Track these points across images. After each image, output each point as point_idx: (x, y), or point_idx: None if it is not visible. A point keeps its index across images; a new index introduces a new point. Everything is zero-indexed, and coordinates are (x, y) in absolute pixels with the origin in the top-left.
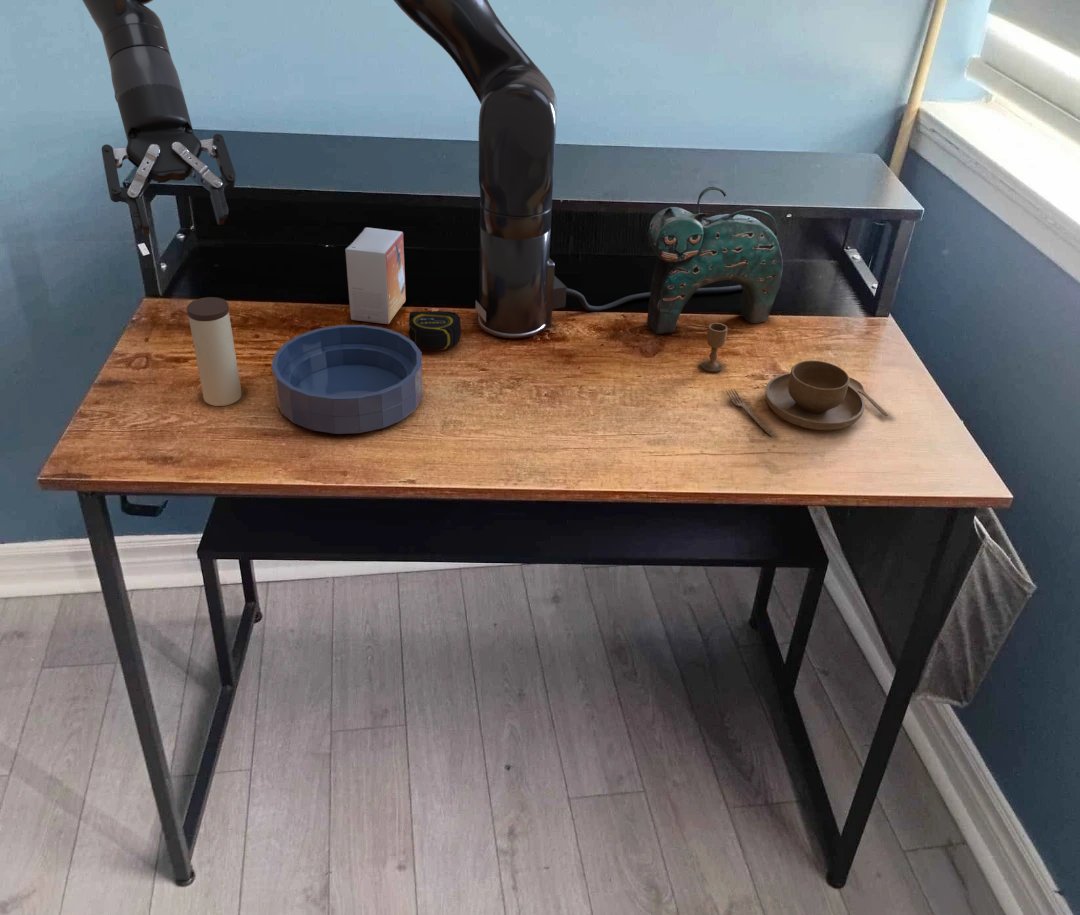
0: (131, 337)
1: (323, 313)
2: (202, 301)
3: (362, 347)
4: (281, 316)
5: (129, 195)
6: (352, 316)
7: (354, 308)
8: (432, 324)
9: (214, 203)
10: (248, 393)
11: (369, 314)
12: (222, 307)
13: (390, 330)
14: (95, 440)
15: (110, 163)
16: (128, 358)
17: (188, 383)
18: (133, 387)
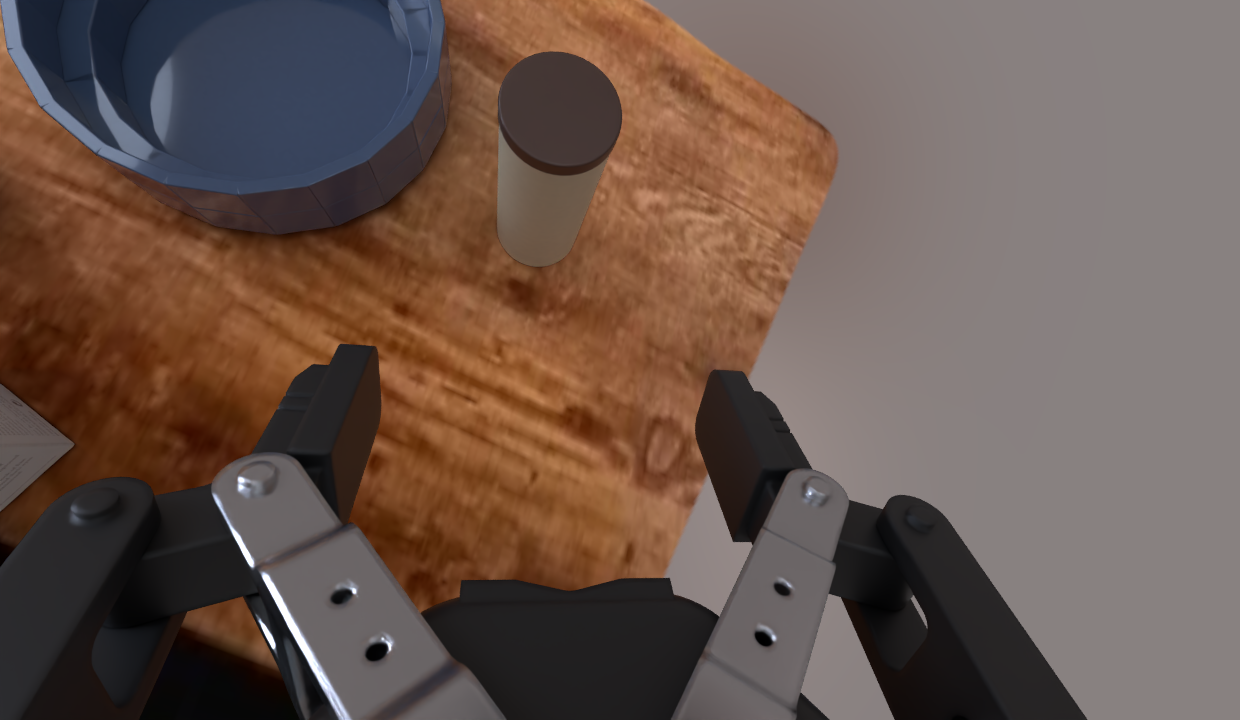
0: None
1: None
2: (567, 141)
3: (150, 151)
4: None
5: (830, 481)
6: (63, 440)
7: (34, 433)
8: None
9: (354, 413)
10: (483, 215)
11: (6, 400)
12: (523, 73)
13: (26, 79)
14: (777, 199)
15: (1027, 687)
16: (681, 478)
17: (588, 313)
18: (691, 349)
